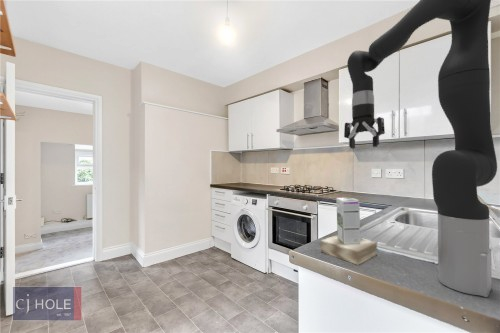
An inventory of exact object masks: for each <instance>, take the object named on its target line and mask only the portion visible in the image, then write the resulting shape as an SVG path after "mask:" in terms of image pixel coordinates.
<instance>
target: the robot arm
mask: <svg viewBox="0 0 500 333" xmlns="http://www.w3.org/2000/svg"><path fill="white" fill-rule="evenodd" d="M491 2H492V1H491V0H419V1H418V2H417V3H416V4H415V5H413V7H411V9H410V10H409V11H408V12H406V14H405V15H404V16H403V17H402V18H400V19H399V21H397V23H396V24H394V25H393V26H392V27H391V28H389V29H388V30H387V31H386V32H384V33H383V34H381V35H380V36H379V37H378V38H377V39H375V40H374V41H372V42H371V43H370V44H369V47H368V51H364V50H354V51H352V53H351V54H350V55H349V56H348V59H347V71H348V74H349V76H350V77H349V78H350V81H351V83H352V99H351V111H352V112H351V113H352V114H351V117H352V122H345V123H344V130H343V132H344V133H343V137H344V138H345V139H346V138H347V139H348V142H349V143H348V144H349V145H348V146H349V148H350V149H353V150H354V149H356V139H355V138H356V137H357V135H358V134H359V133H364V132H369V133H370V134H371V135H372V147H373V148H377V147H378V146H379V145H380V136H381V135H384V134H386V132H385V131H386V130H385V120H384V117H380V116H378V117H377V118H375V95H374V79H373V77H372V76H370V75H368V74H367V73H369V72H372V71H374V70H375V69H377V68H378V66H379V65H380V64H382V62H383V61H384V60H385V59H386V58H388V57H390V56H391V55H393V54H394V53H396V52H397V51H399V50H400V49H401V48H403V47H404V46H405V45H406V44H407V42H408V41H409V39H410V38H411V37H412V35H413V33H414V32H415V31H416V30H418V29H419V28H420V27H421V26H423V25H425V24H427V23H429V22H431V21H434V20H435V19H440V20H445V21H449V24H450V28H451V29H450V30H451V44H450V48H449V51H448V52H447V54H446V56H445V58H444V60H443V62H442V64H441V66H440V69H439V71H438V76H437V90H438V95H437V96H438V101H439V105H440V107H441V109H442V111H443V113H444V114H445V117H446V118H447V120H448V121H449V123H450V125H451V128H452V130H453V135H454V149H451V150H450V149H449V150H446V151H443V152H441V153H440V154H438V155H437V156H436V157H435V159H434V161H433V164H432V167H431V183H432V184H431V185H432V195H433V196H432V197H433V201H434V203H435V205H436V207H437V279H438V281H439V282H440V283H441V284H442V285H444V286H446V287H448V288H449V289H452V290H453V291H457V292H461V293H463V294H469V295H473V296H481V297H484V298H488V297H489V295H490V293H491V290H492V289H493V288H492V248H490V208H489V206H488V205H487V204H485V203H482V202H481V201H480V199H479V196H478V188H479V187H483V186H485V185H488V184H489V183H491V182H492V180H494V179H495V177H496V175H497V171H498V162H497V155H496V151H495V144H494V140H493V139H494V138H493V133H492V127H491V124H492V123H491V119H492V117H491V116H492V115H491V99H490V98H491V97H490V91H491V78H490V77H491V75H490V74H491V73H490V63H489V35H488V34H489V20H490V9H491ZM375 124H377V129H376V128H375V126H374V125H375ZM352 127H353V128H352ZM351 128H352V129H351Z"/></svg>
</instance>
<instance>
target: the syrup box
mask: <svg viewBox="0 0 500 333" xmlns="http://www.w3.org/2000/svg"><path fill="white" fill-rule="evenodd" d="M360 217H361V214H360V200H359V199H357V198H354V197H346V196H345V197H336V225H337V226H336V227H337V228H336V230H337V234H336V235H337V236H338V239H339V240H340V241H341V242H342V243H343V244H360V238H361V218H360Z"/></svg>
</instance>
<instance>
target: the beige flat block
mask: <svg viewBox="0 0 500 333" xmlns="http://www.w3.org/2000/svg"><path fill="white" fill-rule="evenodd" d="M377 246H378V243H377V242H376V241H373V240H369V239H368V240H367V239H365V238H361V237H360V244H343V243H342V242H341V241H340V240H339V239H338V236H337V234H334V235H332V236H330V237H326V238H324V239H321V240H320V252H321V253H323V254H326V255H329V256H331V257H334V258H337V259H340V260H343V261H346V262H348V263H351V264H354V265H357V266H359V265H361V264H362V263H365V262H366V261H368V260H370V259H372V258H374V257H375V256H377V255H378V248H377Z"/></svg>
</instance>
